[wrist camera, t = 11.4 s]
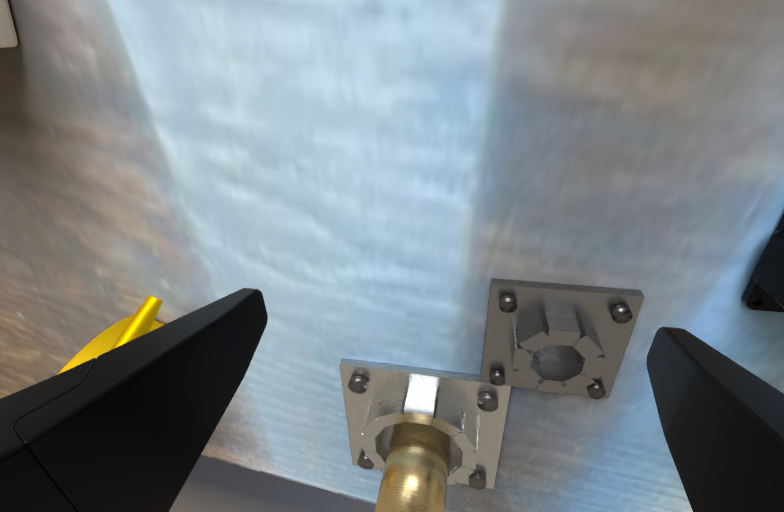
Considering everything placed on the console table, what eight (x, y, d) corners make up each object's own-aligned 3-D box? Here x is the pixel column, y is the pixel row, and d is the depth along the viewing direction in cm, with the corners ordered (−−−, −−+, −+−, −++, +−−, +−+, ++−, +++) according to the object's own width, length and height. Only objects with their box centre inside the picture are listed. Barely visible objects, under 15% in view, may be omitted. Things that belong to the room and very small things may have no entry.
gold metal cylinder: (432, 405, 29) (412, 552, 21) (461, 442, 30) (453, 593, 22) (383, 418, 31) (348, 557, 23) (412, 453, 32) (389, 596, 24)
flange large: (510, 379, 27) (512, 408, 25) (493, 482, 33) (494, 512, 31) (342, 358, 29) (331, 383, 27) (354, 458, 35) (346, 484, 33)
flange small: (640, 290, 22) (654, 315, 20) (605, 391, 26) (615, 419, 24) (491, 278, 23) (492, 300, 21) (480, 375, 27) (480, 401, 25)
